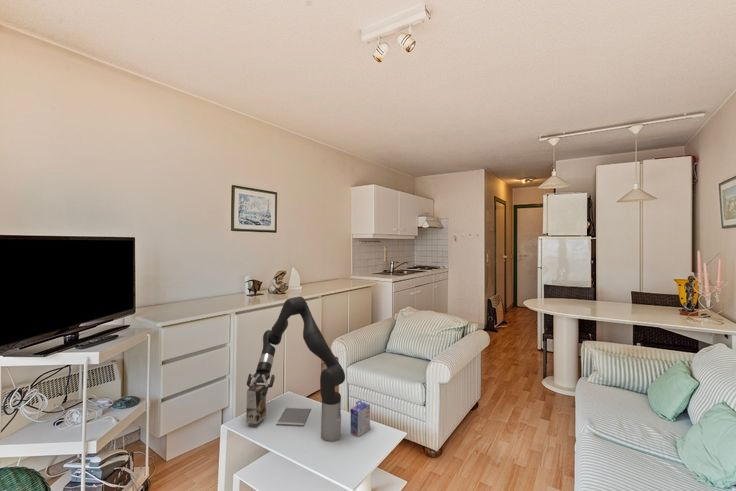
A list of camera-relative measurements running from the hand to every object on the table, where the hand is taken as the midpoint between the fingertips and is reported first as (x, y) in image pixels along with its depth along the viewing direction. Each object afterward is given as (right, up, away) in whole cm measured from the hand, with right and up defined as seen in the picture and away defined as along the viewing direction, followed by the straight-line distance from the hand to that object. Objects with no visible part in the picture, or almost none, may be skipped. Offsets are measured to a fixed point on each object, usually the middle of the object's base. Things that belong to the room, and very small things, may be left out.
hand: (256, 394), depth 173 cm
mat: (+18, -15, +7) cm, 24 cm away
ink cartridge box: (+53, -16, -5) cm, 56 cm away
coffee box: (0, -13, 0) cm, 13 cm away
